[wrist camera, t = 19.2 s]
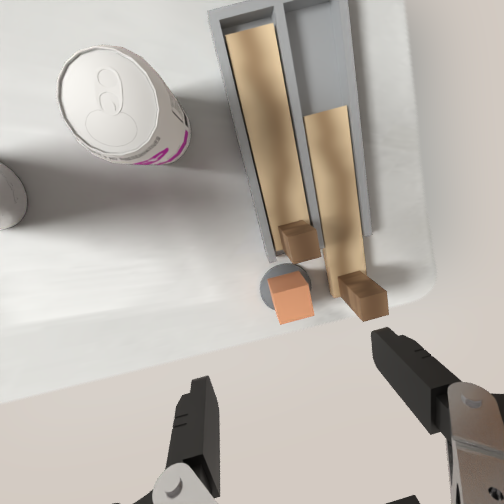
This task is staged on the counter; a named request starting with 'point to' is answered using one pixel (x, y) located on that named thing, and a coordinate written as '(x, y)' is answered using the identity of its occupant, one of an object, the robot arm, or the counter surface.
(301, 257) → the oak strip
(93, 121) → the supplement can
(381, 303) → the oak strip
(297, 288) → the rust cube
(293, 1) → the lane frame
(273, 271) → the slate coaster
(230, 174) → the counter surface
